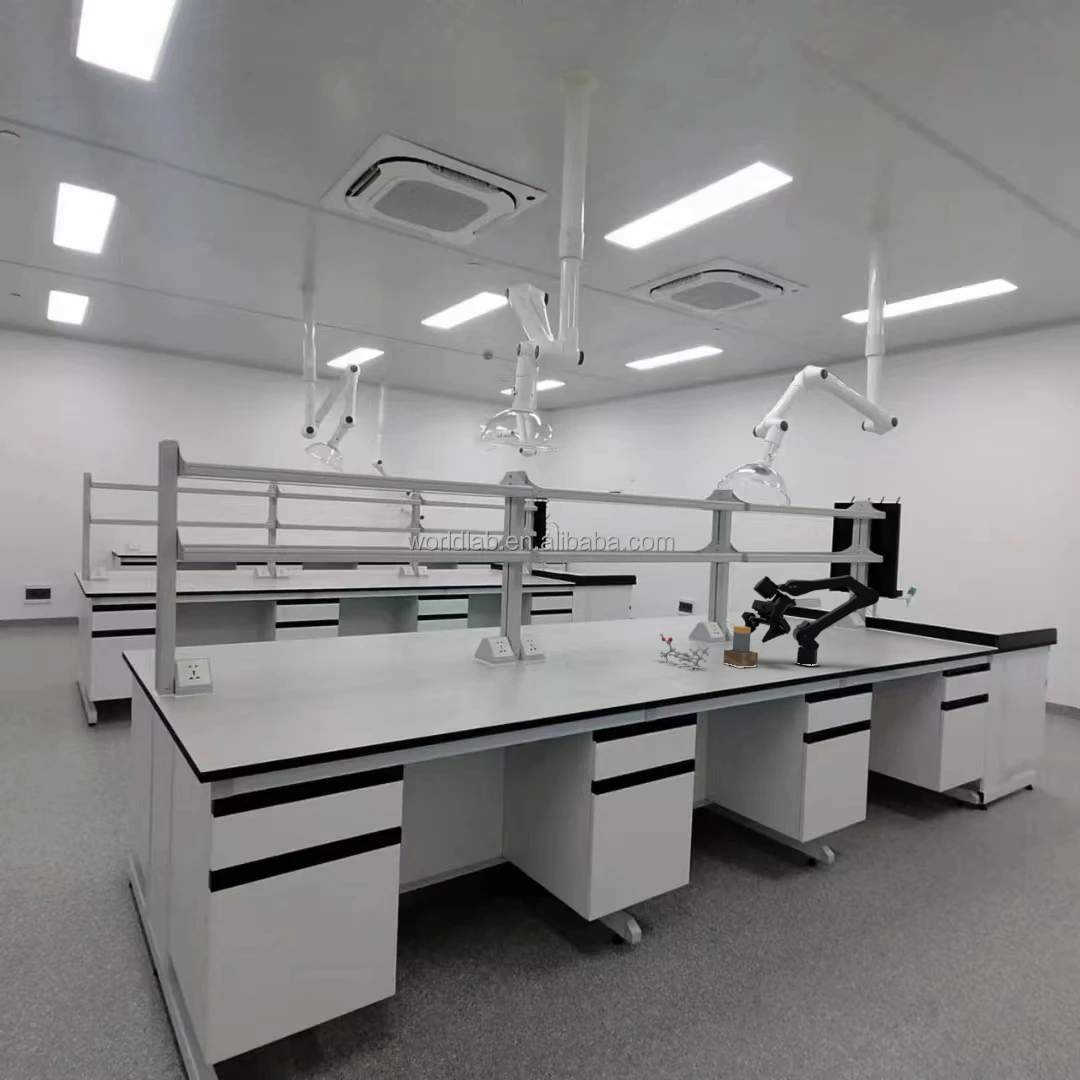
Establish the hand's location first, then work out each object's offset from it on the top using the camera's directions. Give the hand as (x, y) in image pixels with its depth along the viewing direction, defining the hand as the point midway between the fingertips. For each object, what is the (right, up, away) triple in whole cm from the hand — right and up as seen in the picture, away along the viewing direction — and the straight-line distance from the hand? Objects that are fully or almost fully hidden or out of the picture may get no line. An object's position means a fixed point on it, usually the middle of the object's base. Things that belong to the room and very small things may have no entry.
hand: (752, 639), depth 240 cm
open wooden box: (-5, -9, -2) cm, 10 cm away
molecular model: (-25, -8, -6) cm, 27 cm away
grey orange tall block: (-5, -8, -2) cm, 10 cm away
